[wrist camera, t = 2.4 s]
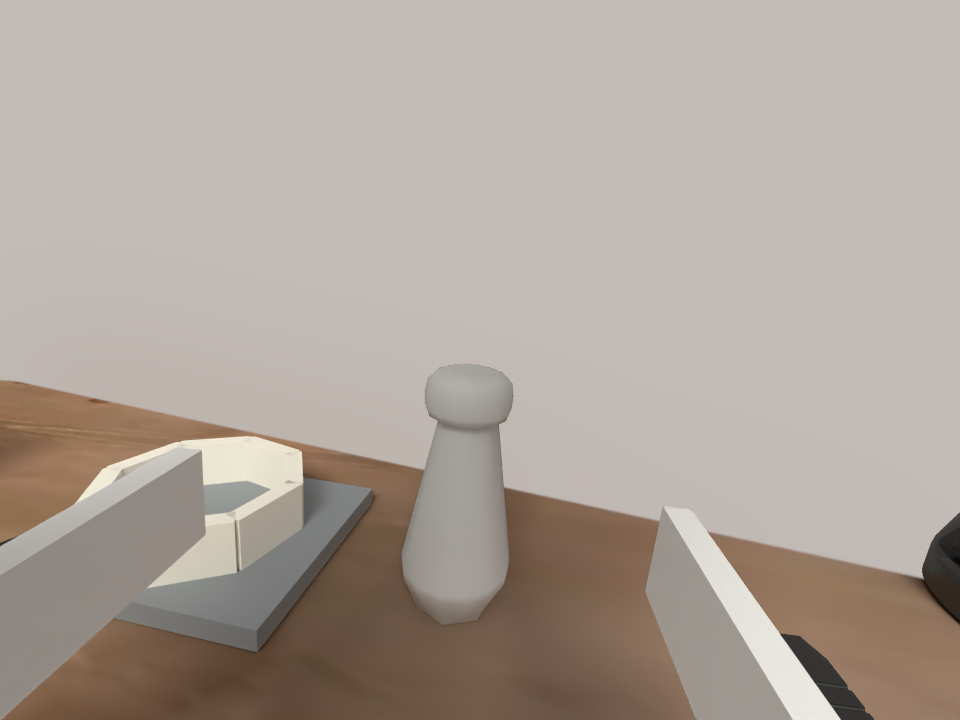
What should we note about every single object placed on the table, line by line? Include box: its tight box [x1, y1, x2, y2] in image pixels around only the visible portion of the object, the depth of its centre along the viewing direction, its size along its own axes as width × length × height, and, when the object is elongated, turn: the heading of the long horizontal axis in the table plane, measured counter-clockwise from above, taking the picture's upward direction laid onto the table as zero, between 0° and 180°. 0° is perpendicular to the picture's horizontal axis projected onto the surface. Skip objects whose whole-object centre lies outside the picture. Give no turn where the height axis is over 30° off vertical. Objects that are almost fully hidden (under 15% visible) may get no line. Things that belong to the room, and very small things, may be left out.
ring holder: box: [75, 436, 304, 588], centre depth 28 cm, size 11×11×3 cm
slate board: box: [114, 477, 372, 652], centre depth 28 cm, size 16×13×1 cm
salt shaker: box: [401, 364, 513, 625], centre depth 24 cm, size 6×6×13 cm
